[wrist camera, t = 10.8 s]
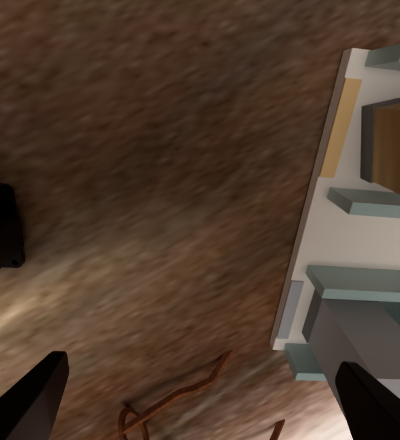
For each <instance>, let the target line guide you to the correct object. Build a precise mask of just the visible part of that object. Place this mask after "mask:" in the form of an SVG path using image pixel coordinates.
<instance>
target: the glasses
mask: <svg viewBox="0 0 400 440" xmlns="http://www.w3.org/2000/svg"><path fill="white" fill-rule="evenodd" d="M232 354H233V352H232V351H228V352H226V353H224V354H223V356H222V357H221V359H220V360H219V362H218V364H217V365H216V367H215V368H214V370H213V372H212V373H211V375H210V376H209V378H207V379H205V380H203V381H201V382H199V383H197V384H195V385H192V386H189V387H185V388H181V389H178V390H176V391H175V392H173V393H172V394H170V395H169V396H167V397H166V398H164V399H163V400H161V401H160V402H158V403H157V404H155V405H154V406H152V407H151V408H149V409H148V410H146V411H145V412H143V413H142V414H140V415H139V414H138V413H136V412H135V411H134V410H133V409H132V408H131V407H126V408H125V409H123V410H122V411H121V413H120V415H119V420H118V430H119V437H120V440H128V439H127V436H126V433H128V432H129V431H131V430H132V429H134V428H135V427H137V426H138V425H140V428H141V430H142V434H143V439H144V440H149V435H148V430H147V427H146V424H145V422H144V421H146V420H147V419H149V418H150V417H152V416H153V415H155V414H156V413H158V412H159V411H161V410H162V409H164V408H165V407H167V406H168V405H170V404H171V403H173V402H174V401H176V400H177V399H179V398H180V397H183V396H186V395H190V394H193V393H197V392H199V391H201V390H203V389H204V388H206V387H208V386H210V385H212V384H214V383H215V382H216V380H217V378H218V377H219V375H220V373H221V372H222V370H223V369H224V367H225V365H226V364H227V362H228V361H229V359H230V357H231V356H232ZM126 415H131V416H132V417H134V419H133V420H131V421H130V422H128V423H127V424H125V418H126ZM284 423H285V419H284V420H281V421H278V422H277V424H276V426H275V428H274V431H273V433H272V435H271V438H270V440H277V439H278V437H279V435H280V432H281V430H282V428H283V425H284Z"/></svg>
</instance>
